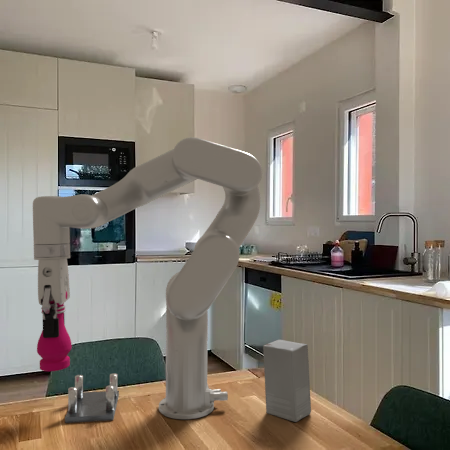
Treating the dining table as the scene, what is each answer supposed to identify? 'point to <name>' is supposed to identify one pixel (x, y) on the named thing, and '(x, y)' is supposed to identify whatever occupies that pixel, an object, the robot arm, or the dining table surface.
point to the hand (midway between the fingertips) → (54, 333)
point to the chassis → (92, 402)
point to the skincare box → (287, 379)
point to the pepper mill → (55, 345)
